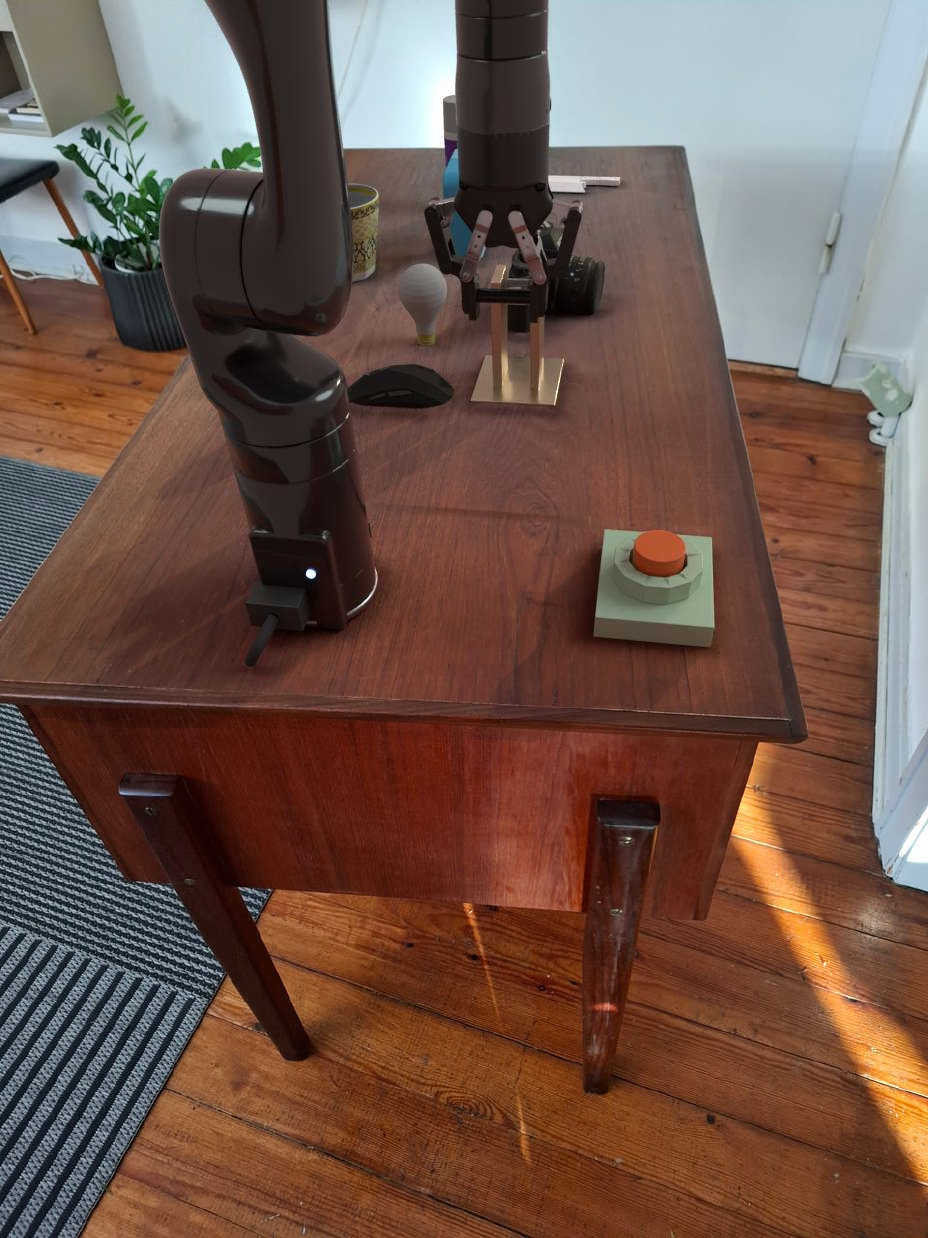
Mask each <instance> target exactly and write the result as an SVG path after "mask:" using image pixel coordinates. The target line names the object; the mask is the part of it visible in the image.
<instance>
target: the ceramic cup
mask: <svg viewBox="0 0 928 1238" xmlns="http://www.w3.org/2000/svg"><path fill="white" fill-rule="evenodd" d="M348 191H349V200H350V210H351V219H352V230H353V280H352V283H354V282H358V281H364V280H366V279H367V278H369V276H371V275H372V274H373V273H375V270H376V259H377V242H378V241H377V240H378V225H379V213H380V212H379V210H380V209H379V207H380V195H379V192H378V190H377V189H375V188H374V187H372V186H369V185H367V184H361V183H348Z"/></svg>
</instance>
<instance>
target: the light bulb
mask: <svg viewBox="0 0 928 1238" xmlns="http://www.w3.org/2000/svg"><path fill="white" fill-rule="evenodd" d="M447 293H448V288H447V282H446V279H445V277H444V274H443V273H442V272H441V271H440V269H439V268H437V267H435V266H434V265H432V264H428V263H416V264H413V265H411V266H410V267H408V268H407V269H406V270H405V271H404V272H403V273H402V275H401V276H400V279H399V283H398V297H399V299H400V302H401V304H402V306H403V307H404V308H405V310H406V311H407V312H408V314H409V315H410V317H411V318H412V319H413V321H414V324H415V332H416V339H417V344H419V345H420V346H431V345H434V344H435V343H436V335H435V334H436V331H437V330H436V321H437V318H438V316H439V314H440V311H441V310H442V308H443V306H444V305H445V301H446V299H447Z"/></svg>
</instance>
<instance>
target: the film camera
mask: <svg viewBox="0 0 928 1238" xmlns="http://www.w3.org/2000/svg"><path fill="white" fill-rule="evenodd" d="M538 232H539V234H540V237H541V240H542V245H543V250H544V253H545V255H546V258H547V261H548V260H551V259H554V258H557V254H558V250H559V246H560V242H561V239H562V235H563V231H562V230H560V229H558V228H557V226H556V225H555V223H554V222H552V221H548V220H545V221H544V222H543V224H542V225H541V227H540V228H539V229H538ZM605 272H606V264H605V261H604V260H601V259H600V260H599V261H597V262H596V260H595V259H594V257H589V256H578V255H573V254H572V255H571V259H570V263H569V267H568V270H567V274H566V276H565V277H564V278H561V279H559V278H554V279H551V280H550V281H548V299H547V309H546V312H545V314H556V312H561V313H562V312H565V313H573V314H581V315H582V314H590V315H594V314H595V313H596V312H597V311H598V309H599V307H600V304H601V299H602V297H603V293H604V292H603V291H604V285H605V277H606V274H605ZM507 277H508V278H507V279H509V278H518V279H531V280H532V276H531V273H530V270H529V268H528V265H527V263H526V262H525V261H524V258H523V256H522V253H521V250H520V248H517V249H515V251H514V253H513V255H512V256H511V266H510V269H509V270H508V276H507ZM507 331H509V332H514V333H521V334H527V333H530V305H510V304H507Z"/></svg>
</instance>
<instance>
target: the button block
mask: <svg viewBox="0 0 928 1238" xmlns="http://www.w3.org/2000/svg"><path fill="white" fill-rule="evenodd" d="M647 531H648V530H646V531H635V530H622V529H621V530H620V529H609V528H608V529H606V528H605V529H604V530H603V538H602V547H601V555H600V556H601V558H600V564H599V565H600V567H599V576H598V586H597V593H596V604H595V613H594V622H593V623H594V624H593V637H595V638H602V639H603V638H604V639H605V638H606V639H613V640H614V639H616V640H626V641H638V642H646V643H647V642H649V643H657V644H669V645H681V646H690V647H700V648H702V647H703V648H711V645H712V641H713V636H714V631H715V603H714V598H715V597H714V567H713V538H712V536H702V535H687V534H677V535H678V536H679V537H681V538H682V539H683V541H684V543H685V545H686V552H685V558H684V564H683V568H682V570H681V571H680V572H679V573H678V574H676V575H674V576H670V577H667V578H664V577H651V576H648V575H646V574H643V573H641V572H639V571H638V570H637V569H636V568H635V567H634V565H633V560H632V559H633V550H634V542H635V540H636V538H637V537H638V536H639V535H640V534H642V533H644V532H647Z"/></svg>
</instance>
